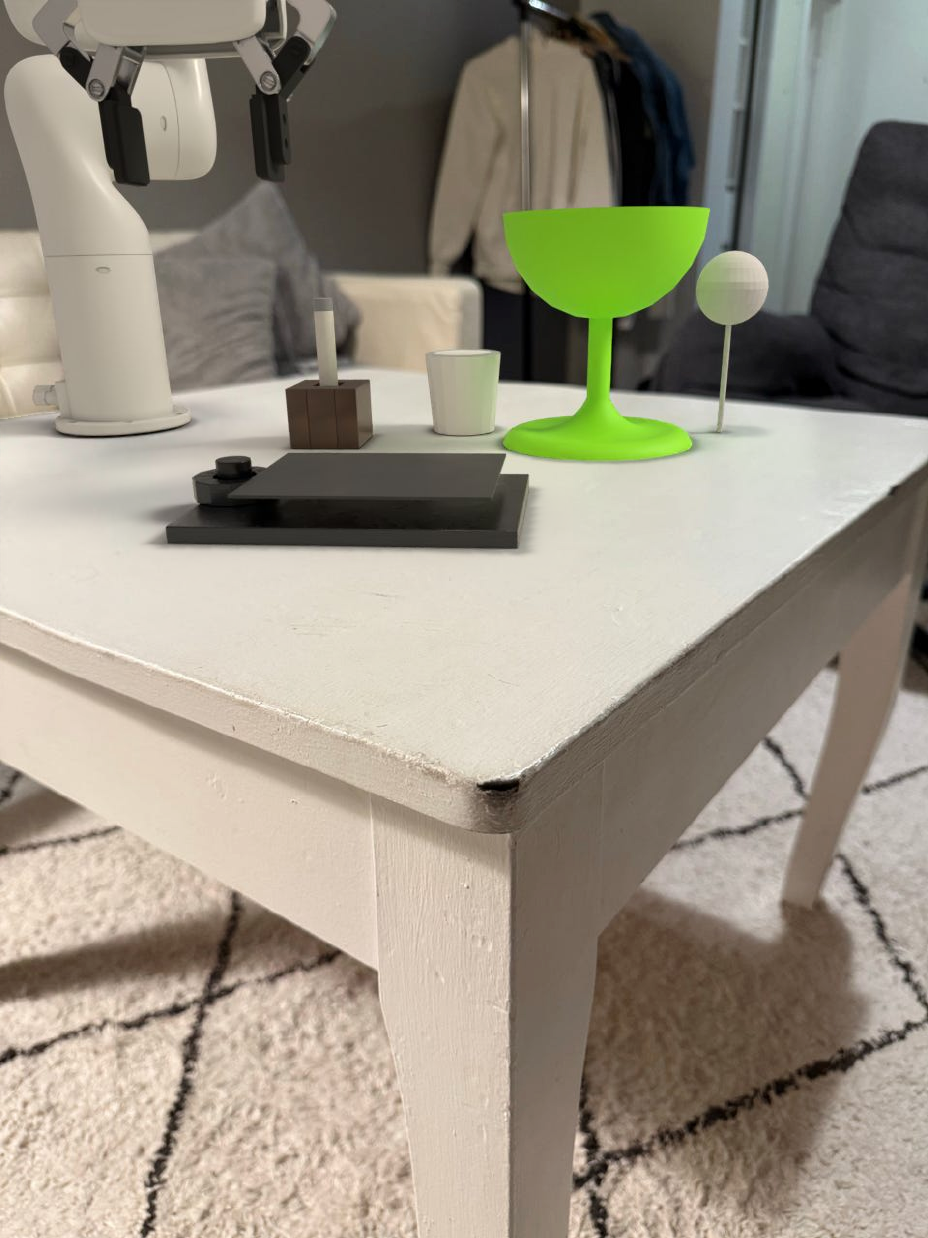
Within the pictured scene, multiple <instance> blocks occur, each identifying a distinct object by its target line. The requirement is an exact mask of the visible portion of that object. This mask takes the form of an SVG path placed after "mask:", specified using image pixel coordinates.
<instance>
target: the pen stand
mask: <svg viewBox="0 0 928 1238" xmlns="http://www.w3.org/2000/svg"><path fill="white" fill-rule="evenodd" d="M284 391H285V402H286V414H287V423H288V424H287V426H288V436H289V437H288V438H289V447H290V449H321V450H323V449H329V450H330V449H332V450H334V449H335V450H337V449H353V450H355V449H356V450H357V449H360V448H362V446H363V445H364V444H365V443H367V442H368V441H369V440H370V439H371V438H372V437H373V436H374V427H373V425H374V424H373V409H372V391H371V379H338V386H320V385H319V379H303V380H301V381H300V382H298V383H295V384H293V385H291V386H289V387H286V388H285V389H284Z"/></svg>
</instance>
